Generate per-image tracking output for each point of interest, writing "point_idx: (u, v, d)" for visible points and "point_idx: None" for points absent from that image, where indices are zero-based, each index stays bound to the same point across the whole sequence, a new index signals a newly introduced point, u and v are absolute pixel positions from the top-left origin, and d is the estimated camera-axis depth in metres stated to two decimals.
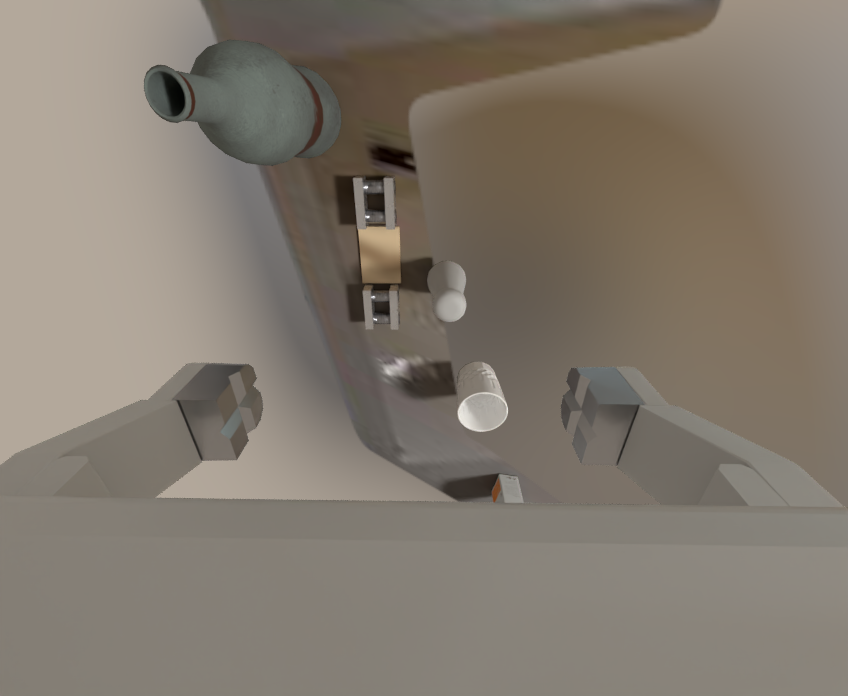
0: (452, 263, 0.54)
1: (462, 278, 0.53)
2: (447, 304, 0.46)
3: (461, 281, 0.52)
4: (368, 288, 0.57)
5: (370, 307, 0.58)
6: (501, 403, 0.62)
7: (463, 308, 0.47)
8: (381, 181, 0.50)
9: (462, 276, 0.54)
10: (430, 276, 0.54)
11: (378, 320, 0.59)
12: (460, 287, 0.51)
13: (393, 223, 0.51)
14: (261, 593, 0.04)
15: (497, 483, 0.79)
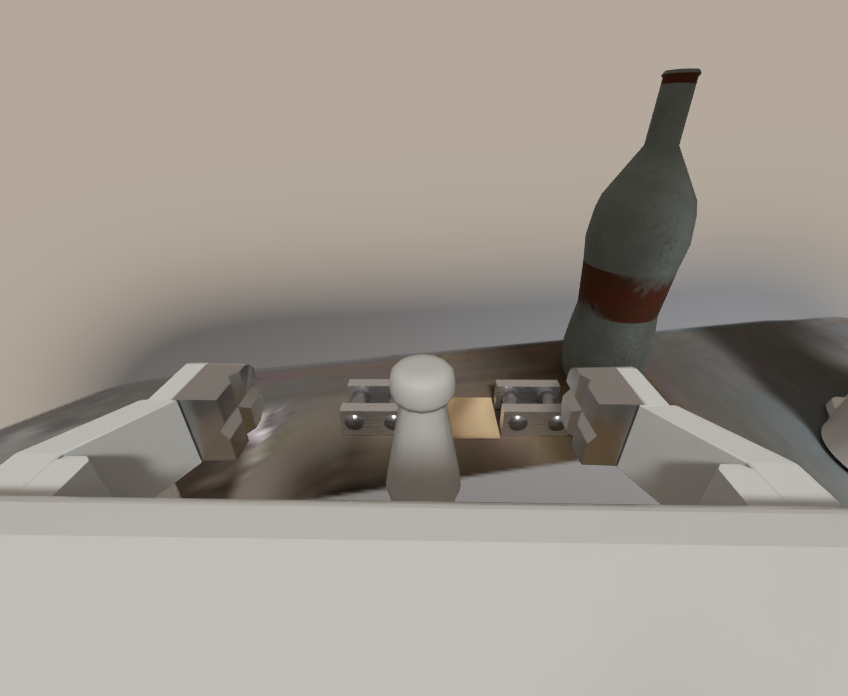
0: (458, 483, 0.28)
1: (439, 480, 0.26)
2: (432, 362, 0.24)
3: (438, 466, 0.26)
4: None
5: (383, 384, 0.39)
6: None
7: (421, 384, 0.22)
8: None
9: (440, 486, 0.26)
10: None
11: (358, 394, 0.38)
12: (436, 444, 0.25)
13: (512, 410, 0.35)
14: (262, 594, 0.04)
15: None
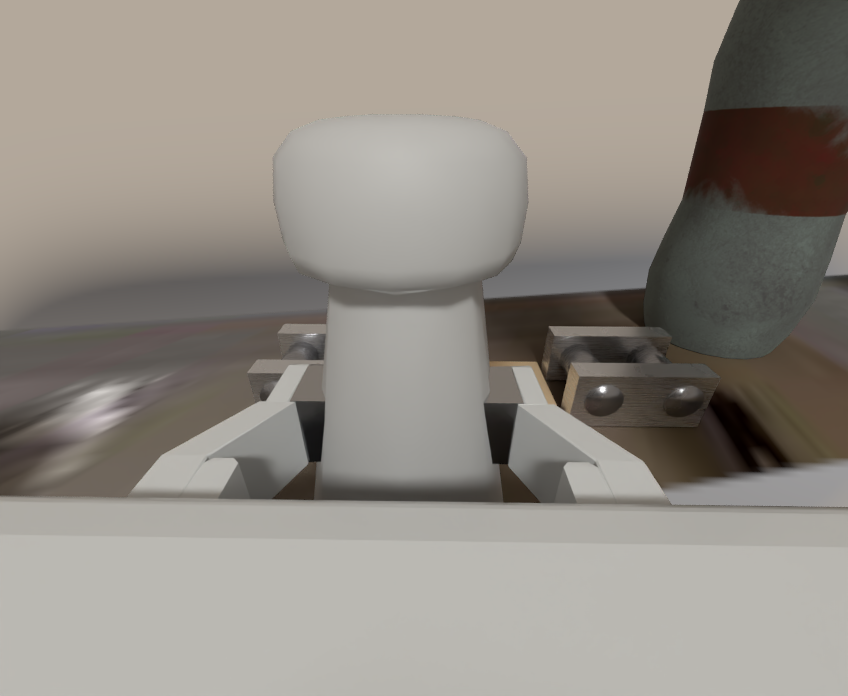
0: None
1: None
2: None
3: None
4: None
5: None
6: None
7: (391, 132, 0.05)
8: None
9: None
10: None
11: (296, 348, 0.21)
12: (449, 433, 0.07)
13: (595, 374, 0.17)
14: (262, 595, 0.04)
15: None
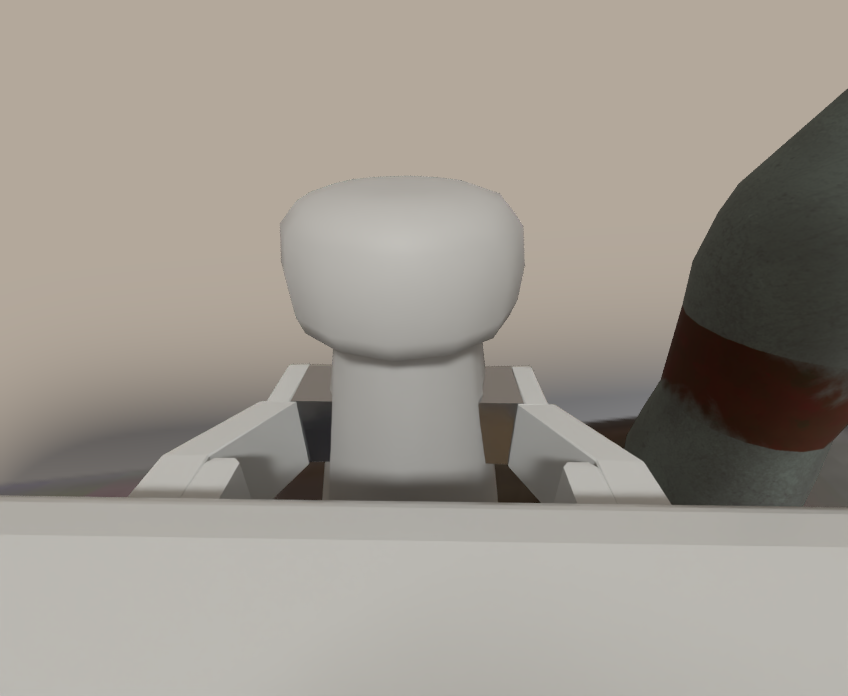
0: None
1: None
2: (439, 180, 0.06)
3: None
4: None
5: None
6: None
7: (392, 223, 0.05)
8: None
9: None
10: None
11: None
12: (447, 473, 0.08)
13: None
14: (262, 594, 0.04)
15: None
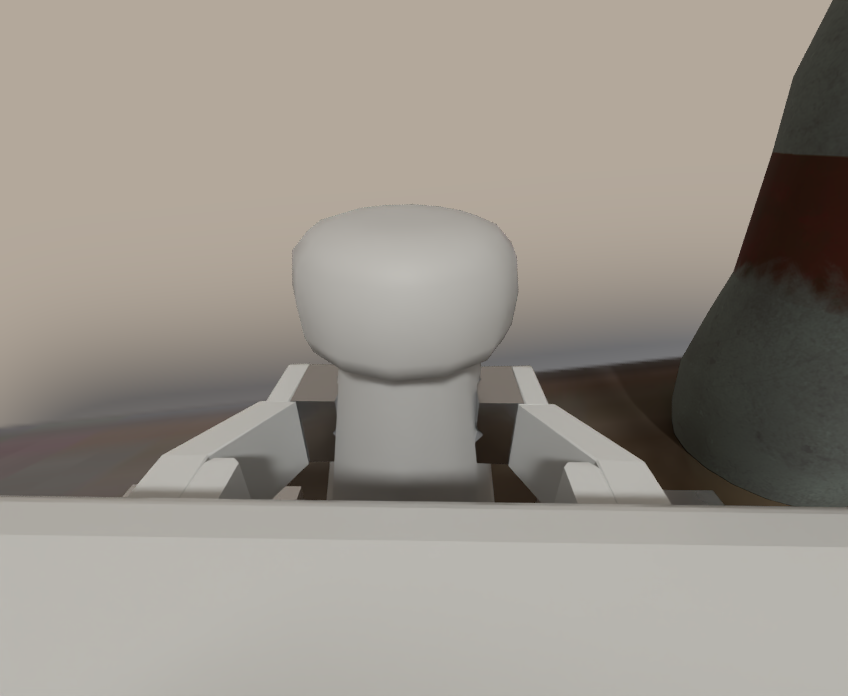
0: None
1: None
2: (440, 212, 0.07)
3: None
4: None
5: None
6: None
7: (393, 258, 0.05)
8: None
9: None
10: None
11: None
12: (443, 484, 0.08)
13: None
14: (262, 594, 0.04)
15: None
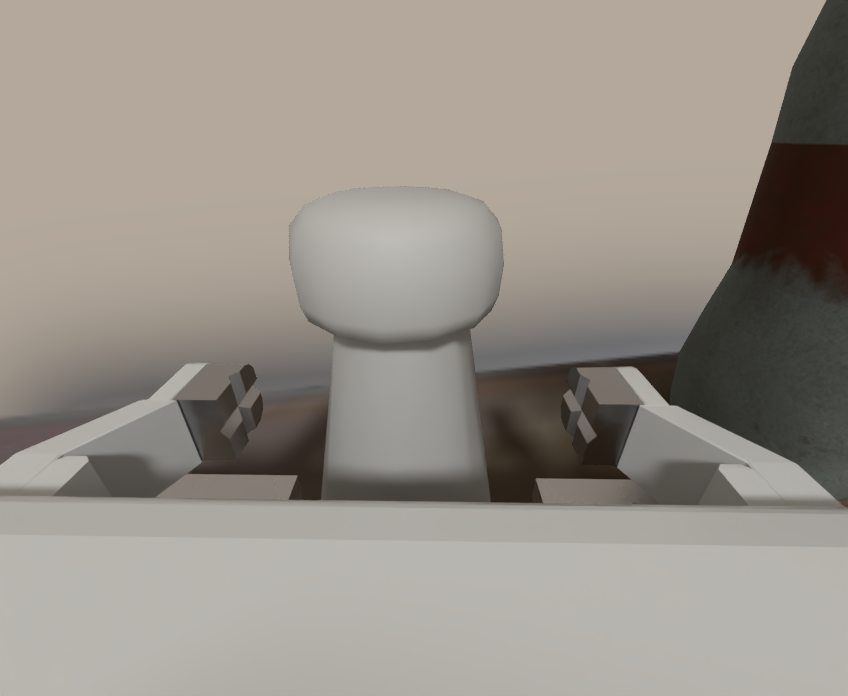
0: None
1: None
2: (429, 189, 0.07)
3: None
4: None
5: (212, 496, 0.13)
6: None
7: (382, 222, 0.06)
8: None
9: None
10: None
11: None
12: (435, 455, 0.08)
13: None
14: (262, 595, 0.04)
15: None
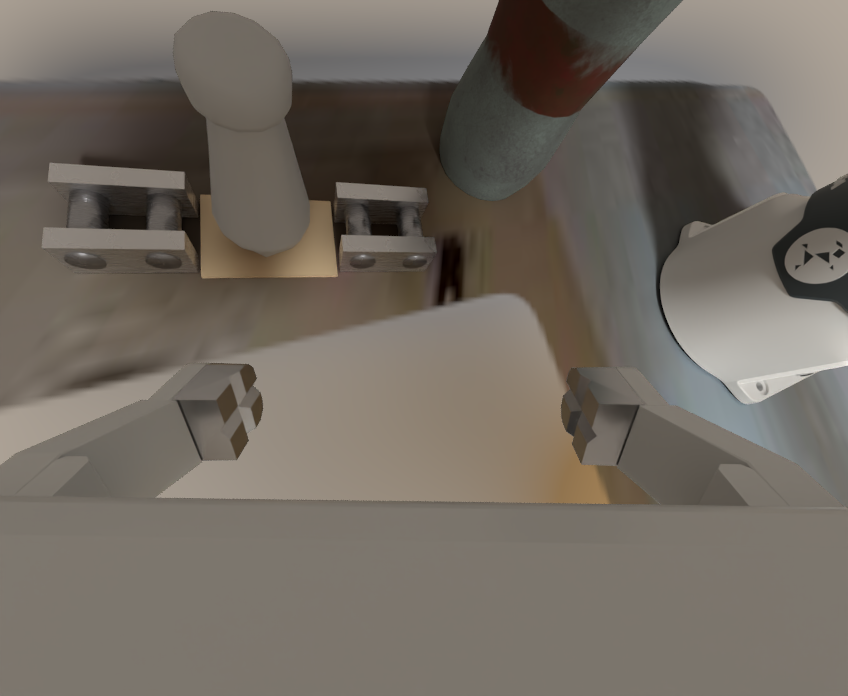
0: (307, 219, 0.24)
1: (279, 218, 0.21)
2: (249, 38, 0.14)
3: (277, 202, 0.20)
4: (188, 192, 0.23)
5: (129, 183, 0.22)
6: None
7: (231, 83, 0.14)
8: None
9: (281, 224, 0.22)
10: None
11: (80, 201, 0.21)
12: (270, 176, 0.19)
13: (355, 249, 0.25)
14: (262, 594, 0.04)
15: None
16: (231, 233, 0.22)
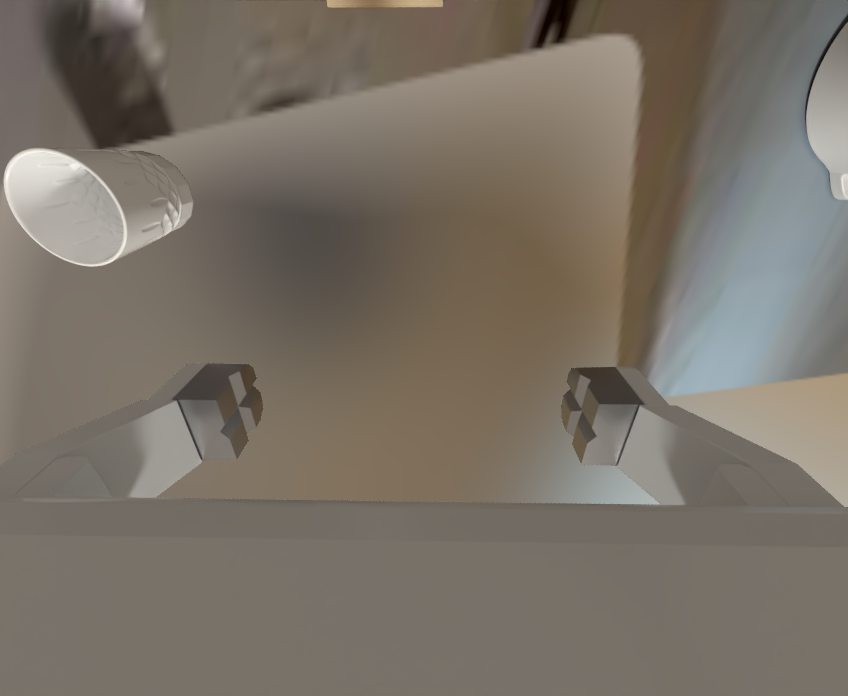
0: None
1: None
2: None
3: None
4: None
5: None
6: (112, 248, 0.31)
7: None
8: None
9: None
10: None
11: None
12: None
13: None
14: (262, 594, 0.04)
15: None
16: None
